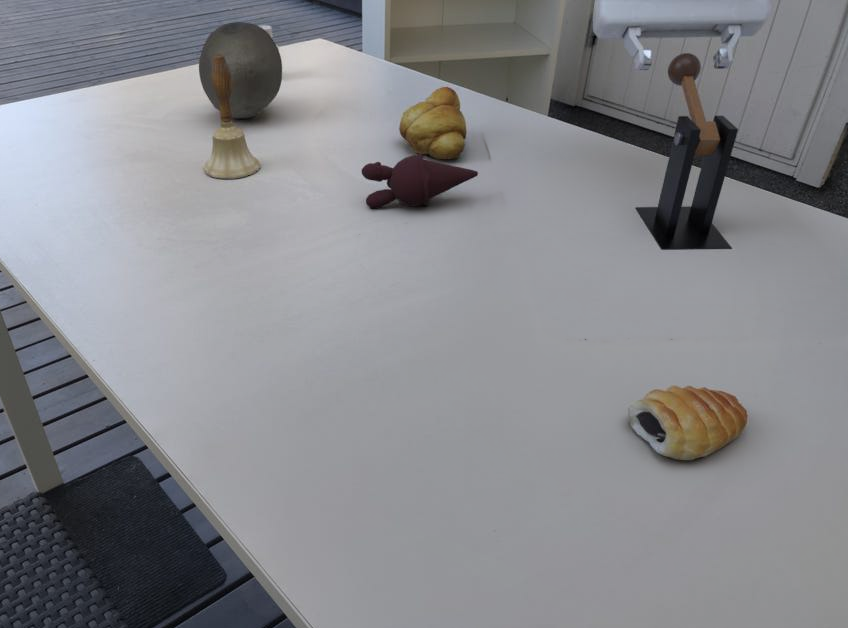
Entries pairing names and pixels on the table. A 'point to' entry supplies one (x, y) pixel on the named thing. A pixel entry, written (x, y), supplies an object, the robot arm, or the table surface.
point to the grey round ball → (243, 67)
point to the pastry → (687, 421)
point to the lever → (694, 100)
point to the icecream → (413, 180)
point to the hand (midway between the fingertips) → (683, 67)
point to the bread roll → (435, 125)
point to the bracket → (695, 222)
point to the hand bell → (228, 133)
